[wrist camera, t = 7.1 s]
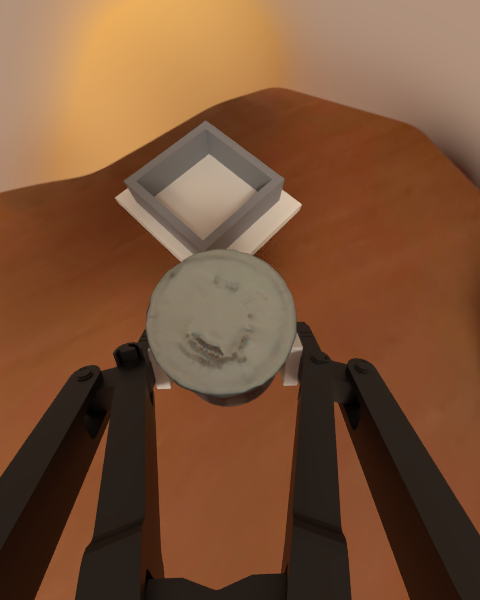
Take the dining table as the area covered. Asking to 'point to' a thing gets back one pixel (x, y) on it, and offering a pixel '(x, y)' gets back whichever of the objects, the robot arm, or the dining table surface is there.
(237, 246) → the bottle stand
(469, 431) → the dining table surface
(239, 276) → the sauce bottle
